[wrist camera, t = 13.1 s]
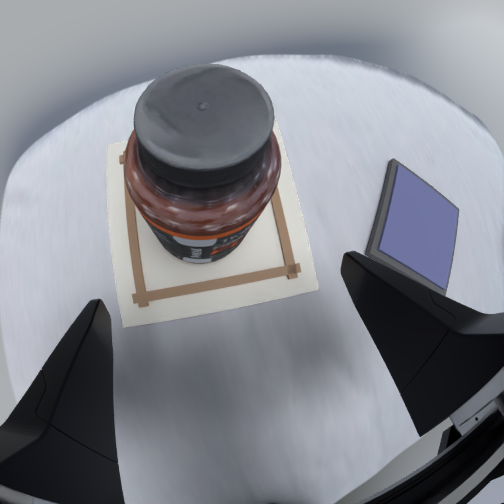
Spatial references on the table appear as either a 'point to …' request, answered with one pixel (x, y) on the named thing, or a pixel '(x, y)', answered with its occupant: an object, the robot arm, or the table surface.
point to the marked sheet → (208, 274)
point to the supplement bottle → (202, 159)
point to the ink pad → (414, 229)
